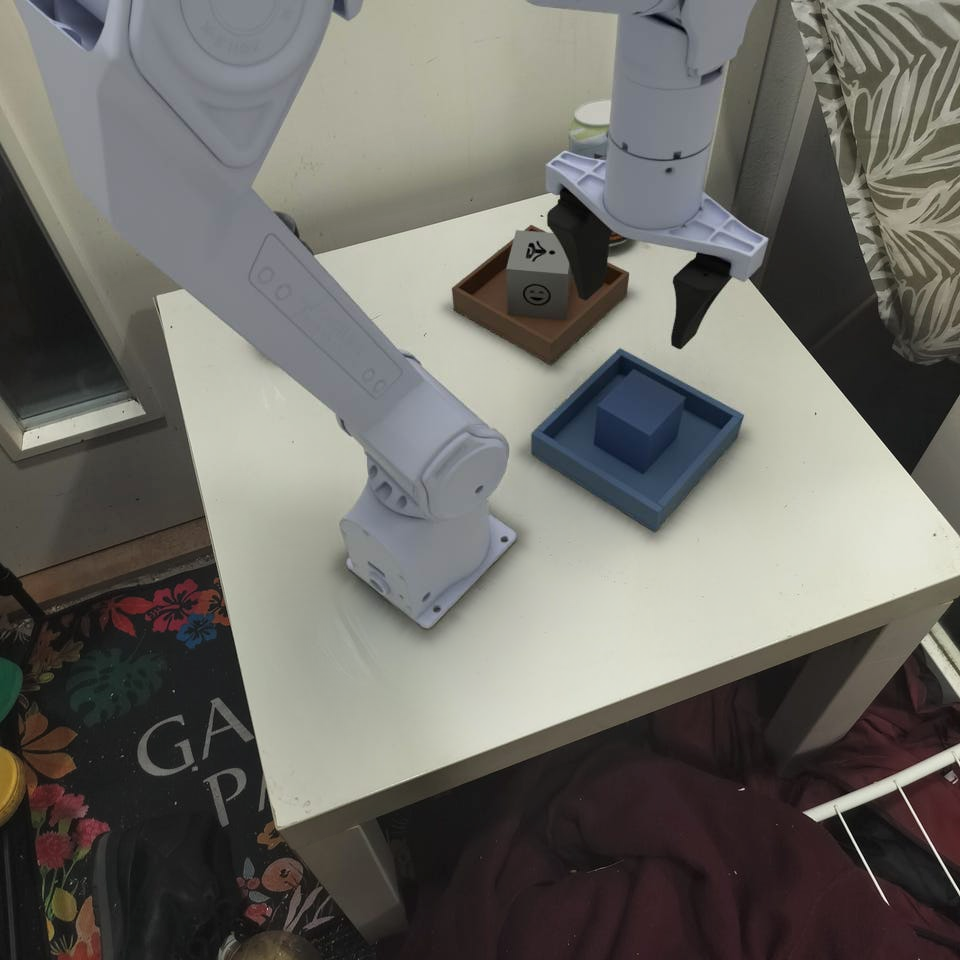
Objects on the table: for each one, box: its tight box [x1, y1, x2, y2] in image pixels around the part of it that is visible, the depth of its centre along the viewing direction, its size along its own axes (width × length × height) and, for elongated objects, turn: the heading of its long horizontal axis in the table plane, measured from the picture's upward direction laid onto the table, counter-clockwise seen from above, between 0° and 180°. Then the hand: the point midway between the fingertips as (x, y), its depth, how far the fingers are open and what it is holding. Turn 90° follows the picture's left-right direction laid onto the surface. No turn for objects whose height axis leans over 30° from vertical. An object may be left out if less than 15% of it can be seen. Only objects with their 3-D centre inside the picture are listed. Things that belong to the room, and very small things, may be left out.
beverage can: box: [567, 98, 630, 247], centre depth 74 cm, size 6×7×12 cm
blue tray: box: [530, 347, 745, 533], centre depth 63 cm, size 11×11×2 cm
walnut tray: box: [451, 224, 630, 366], centre depth 73 cm, size 11×11×2 cm
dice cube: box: [506, 229, 573, 320], centre depth 71 cm, size 5×5×5 cm
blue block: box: [594, 369, 686, 474], centre depth 62 cm, size 4×4×4 cm
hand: (636, 314), depth 57 cm, fingers open, 7 cm apart
